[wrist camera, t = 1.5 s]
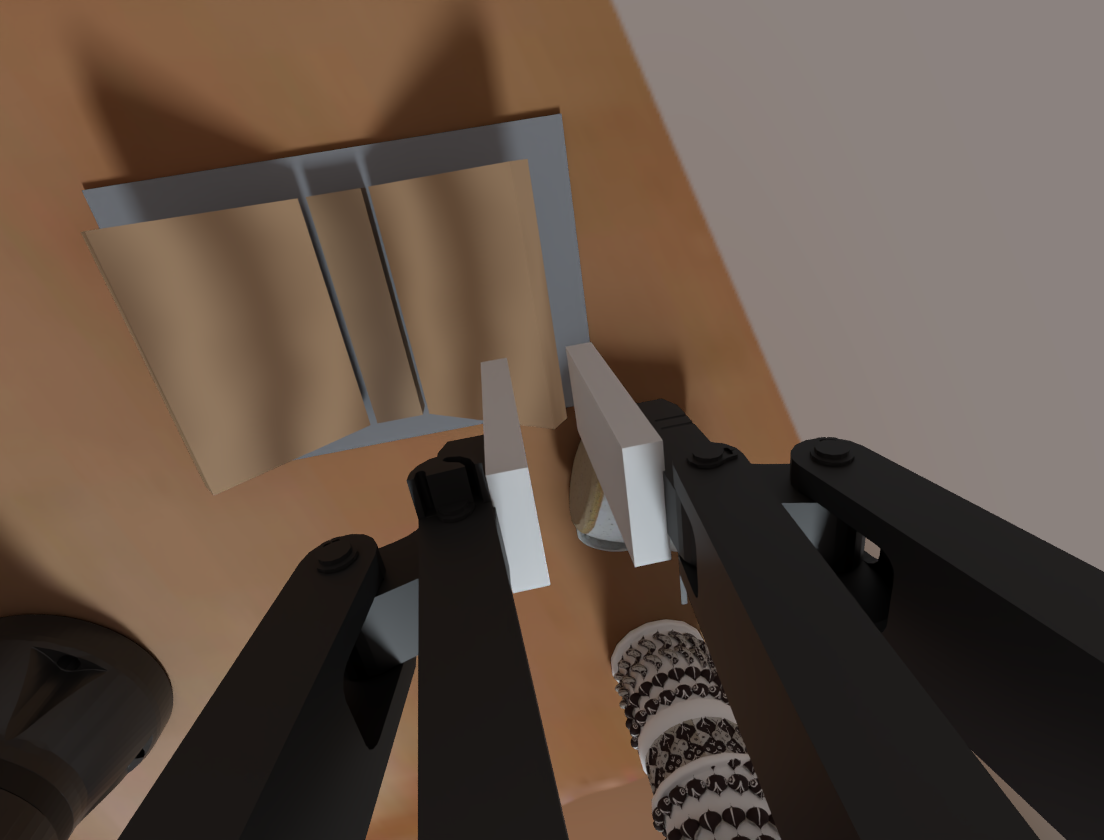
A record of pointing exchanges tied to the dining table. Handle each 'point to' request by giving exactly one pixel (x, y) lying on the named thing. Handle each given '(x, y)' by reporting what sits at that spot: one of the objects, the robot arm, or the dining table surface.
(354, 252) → the centre strip
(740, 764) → the decorative candle
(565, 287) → the underlay mat
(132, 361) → the dining table surface
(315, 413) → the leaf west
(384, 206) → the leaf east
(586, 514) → the ceramic mug
